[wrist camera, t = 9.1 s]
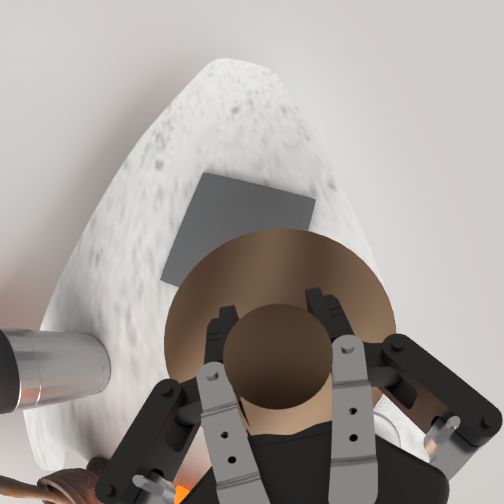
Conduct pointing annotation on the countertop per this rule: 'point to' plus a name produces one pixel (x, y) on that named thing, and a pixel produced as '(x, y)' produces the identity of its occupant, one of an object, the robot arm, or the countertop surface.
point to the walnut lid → (275, 322)
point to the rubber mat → (230, 219)
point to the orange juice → (180, 494)
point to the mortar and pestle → (60, 485)
